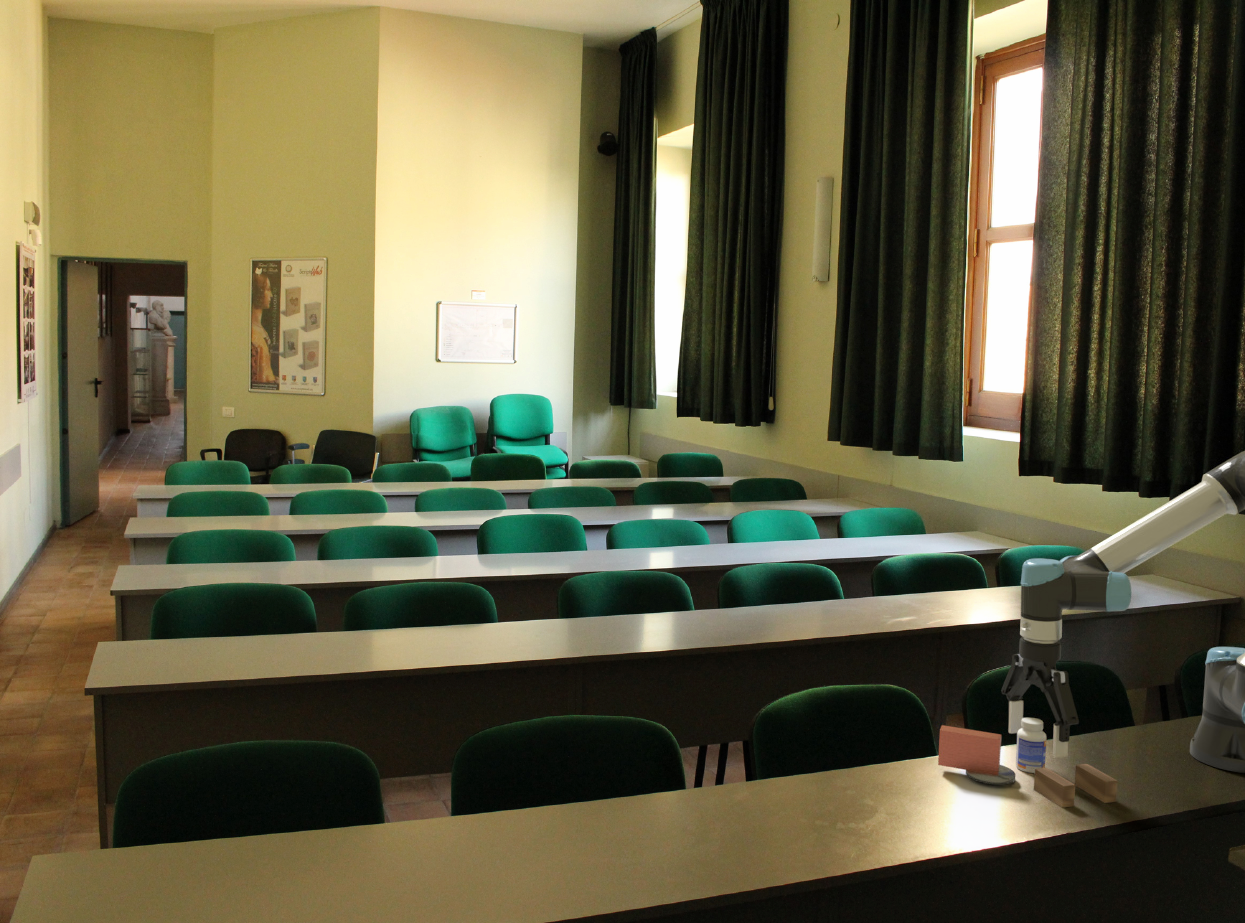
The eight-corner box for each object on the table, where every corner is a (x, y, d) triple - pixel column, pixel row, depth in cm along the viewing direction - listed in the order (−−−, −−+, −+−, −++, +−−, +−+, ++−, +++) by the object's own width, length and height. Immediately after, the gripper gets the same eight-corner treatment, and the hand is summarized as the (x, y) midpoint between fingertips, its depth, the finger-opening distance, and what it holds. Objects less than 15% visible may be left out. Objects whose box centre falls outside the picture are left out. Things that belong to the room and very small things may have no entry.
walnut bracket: (1085, 784, 196) (1087, 763, 196) (1115, 801, 188) (1117, 780, 188) (1033, 789, 193) (1034, 768, 193) (1062, 807, 185) (1063, 786, 185)
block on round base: (942, 758, 205) (944, 720, 205) (1016, 771, 200) (1019, 732, 199) (935, 774, 197) (937, 734, 196) (1013, 788, 191) (1015, 747, 191)
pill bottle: (1049, 774, 200) (1052, 725, 200) (1021, 773, 201) (1024, 725, 200) (1038, 763, 206) (1041, 716, 205) (1011, 762, 206) (1014, 715, 205)
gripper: (985, 624, 212) (982, 724, 214) (1066, 657, 188) (1063, 769, 190) (1016, 621, 214) (1014, 721, 216) (1101, 654, 190) (1097, 765, 192)
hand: (1037, 744), depth 203 cm, fingers open, 13 cm apart
